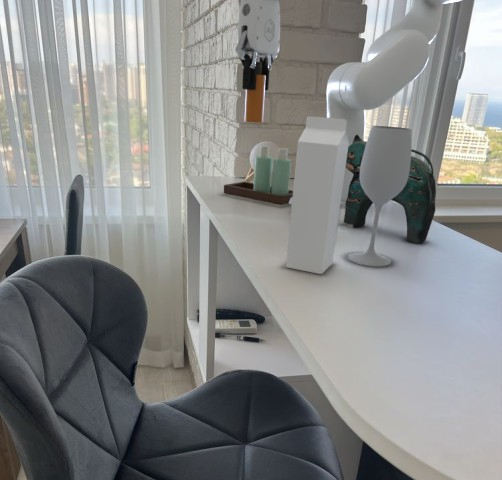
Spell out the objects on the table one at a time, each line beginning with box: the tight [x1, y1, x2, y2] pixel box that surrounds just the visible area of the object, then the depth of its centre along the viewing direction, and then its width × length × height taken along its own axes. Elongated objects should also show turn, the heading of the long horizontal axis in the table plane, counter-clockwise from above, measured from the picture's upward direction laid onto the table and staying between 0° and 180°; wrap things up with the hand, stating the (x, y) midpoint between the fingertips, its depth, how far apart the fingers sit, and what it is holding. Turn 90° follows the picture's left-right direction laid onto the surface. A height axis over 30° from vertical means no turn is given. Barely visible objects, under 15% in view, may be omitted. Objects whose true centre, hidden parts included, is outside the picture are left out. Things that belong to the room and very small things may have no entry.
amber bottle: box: [244, 61, 266, 124], centre depth 112 cm, size 4×4×12 cm
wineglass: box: [347, 125, 413, 268], centre depth 82 cm, size 8×8×21 cm
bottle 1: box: [253, 145, 273, 193], centre depth 125 cm, size 4×4×12 cm
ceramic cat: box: [343, 135, 437, 244], centre depth 100 cm, size 20×6×20 cm, turn 45°
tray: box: [223, 181, 293, 206], centre depth 127 cm, size 18×9×3 cm, turn 54°
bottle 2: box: [271, 147, 292, 195], centre depth 122 cm, size 4×4×12 cm
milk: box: [285, 115, 349, 275], centre depth 76 cm, size 6×6×22 cm
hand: (255, 88), depth 111 cm, fingers closed on amber bottle, 4 cm apart
